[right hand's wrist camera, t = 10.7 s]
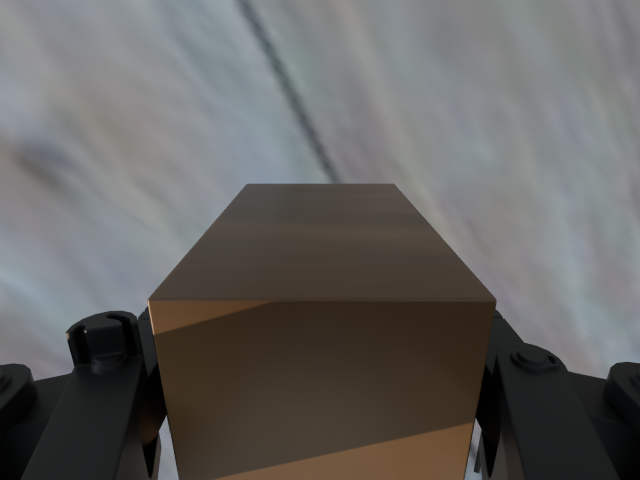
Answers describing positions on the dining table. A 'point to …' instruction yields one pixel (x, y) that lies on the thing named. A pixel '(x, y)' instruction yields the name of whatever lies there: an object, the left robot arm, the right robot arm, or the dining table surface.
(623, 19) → the dining table surface
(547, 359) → the right robot arm
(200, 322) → the bar
